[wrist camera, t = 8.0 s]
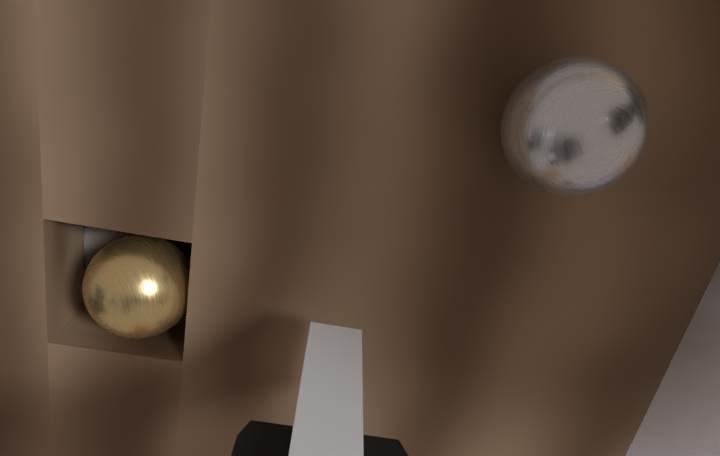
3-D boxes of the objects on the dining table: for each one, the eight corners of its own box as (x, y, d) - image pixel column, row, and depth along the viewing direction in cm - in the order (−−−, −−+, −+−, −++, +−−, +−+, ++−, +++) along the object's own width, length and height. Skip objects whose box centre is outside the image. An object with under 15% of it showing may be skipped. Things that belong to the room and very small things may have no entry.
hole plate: (-26, 479, 22) (-70, 532, 20) (-96, -168, 14) (-186, -209, 12) (535, 546, 24) (555, 600, 22) (766, 21, 16) (836, 19, 14)
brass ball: (147, 293, 20) (59, 328, 17) (150, 211, 19) (56, 233, 16) (212, 330, 18) (129, 375, 16) (220, 243, 17) (132, 274, 14)
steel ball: (472, 165, 15) (505, 201, 12) (505, 42, 14) (553, 44, 11) (582, 185, 15) (646, 226, 12) (625, 66, 14) (708, 76, 11)
